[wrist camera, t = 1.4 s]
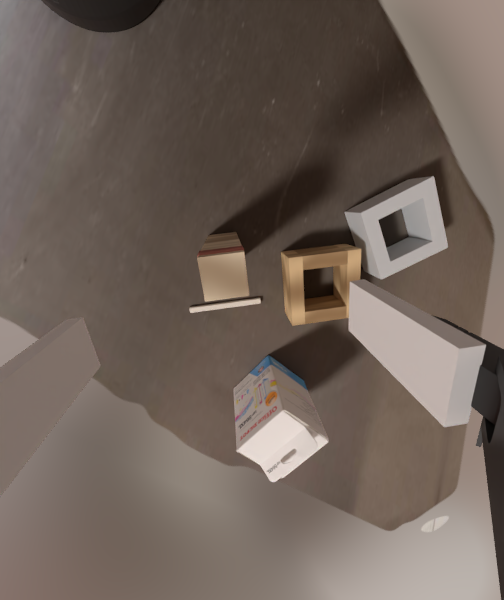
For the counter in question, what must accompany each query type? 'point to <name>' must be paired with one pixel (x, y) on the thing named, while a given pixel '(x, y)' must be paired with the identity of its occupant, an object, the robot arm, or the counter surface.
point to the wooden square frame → (344, 271)
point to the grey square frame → (418, 218)
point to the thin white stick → (225, 305)
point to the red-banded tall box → (223, 267)
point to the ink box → (276, 419)
